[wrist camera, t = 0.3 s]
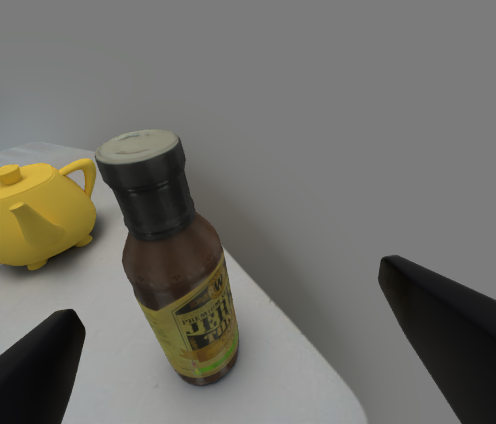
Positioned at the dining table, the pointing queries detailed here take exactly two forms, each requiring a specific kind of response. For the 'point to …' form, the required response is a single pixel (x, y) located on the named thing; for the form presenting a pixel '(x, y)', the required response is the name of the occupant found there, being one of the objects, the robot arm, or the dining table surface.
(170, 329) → the sauce bottle
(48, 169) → the teapot
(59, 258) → the dining table surface
